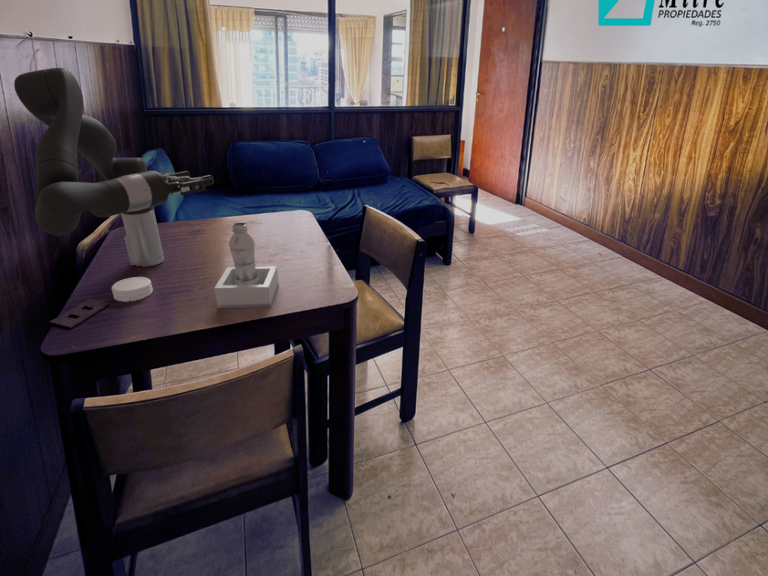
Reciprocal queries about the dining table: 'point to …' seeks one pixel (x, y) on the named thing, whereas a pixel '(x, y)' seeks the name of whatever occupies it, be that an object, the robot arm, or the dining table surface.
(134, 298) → the coaster
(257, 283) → the plastic bottle
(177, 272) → the dining table surface
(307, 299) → the dining table surface
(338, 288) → the dining table surface
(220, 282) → the bin
